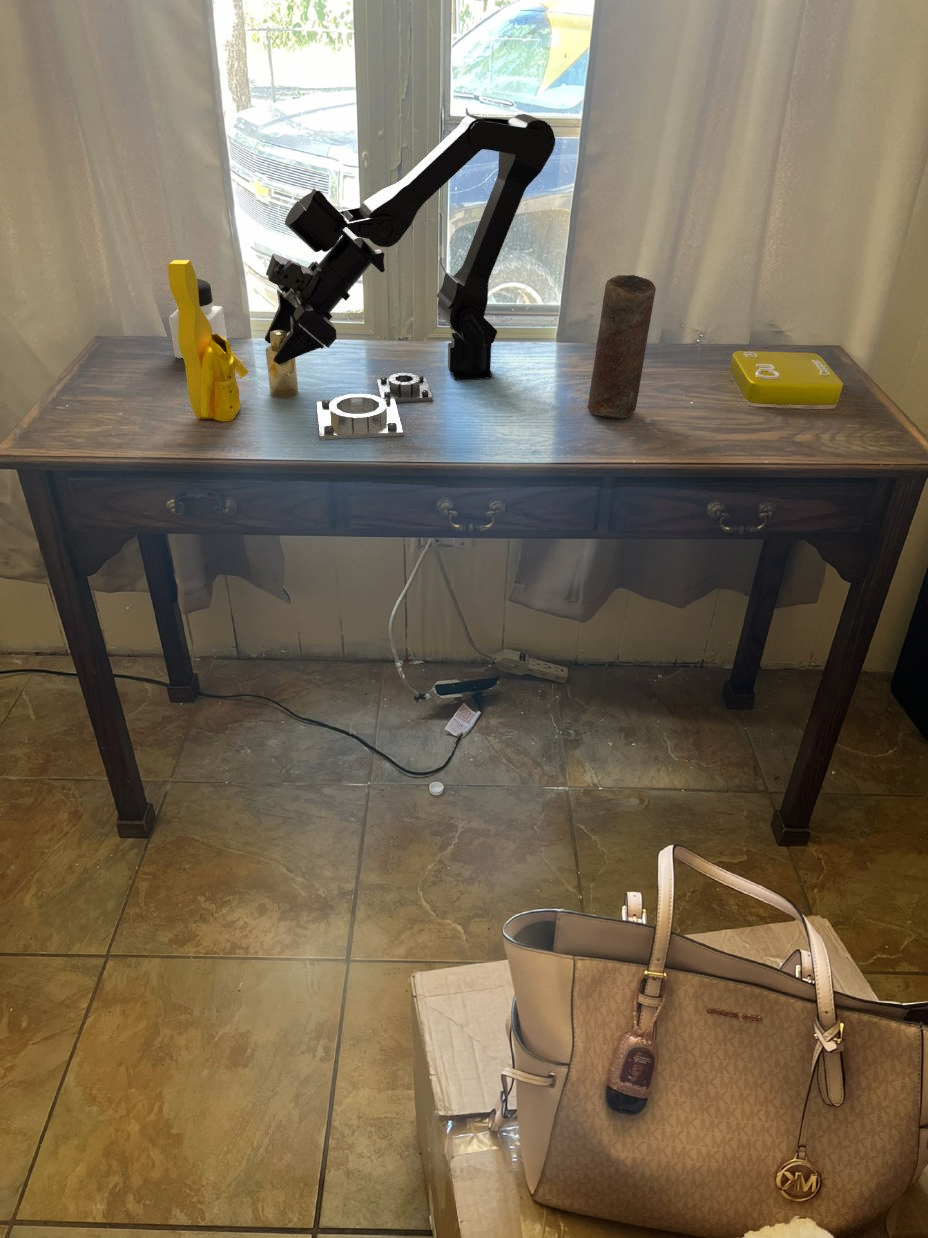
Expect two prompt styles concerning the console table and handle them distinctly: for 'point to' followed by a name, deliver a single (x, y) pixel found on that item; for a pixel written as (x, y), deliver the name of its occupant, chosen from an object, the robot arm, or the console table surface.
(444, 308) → the robot arm
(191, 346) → the yellow tall sculpted piece
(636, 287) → the rusty brown cylinder
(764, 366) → the element tile
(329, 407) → the flange large
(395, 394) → the flange small
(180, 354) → the medicine bottle
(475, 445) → the console table surface
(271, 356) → the gold metal cylinder
